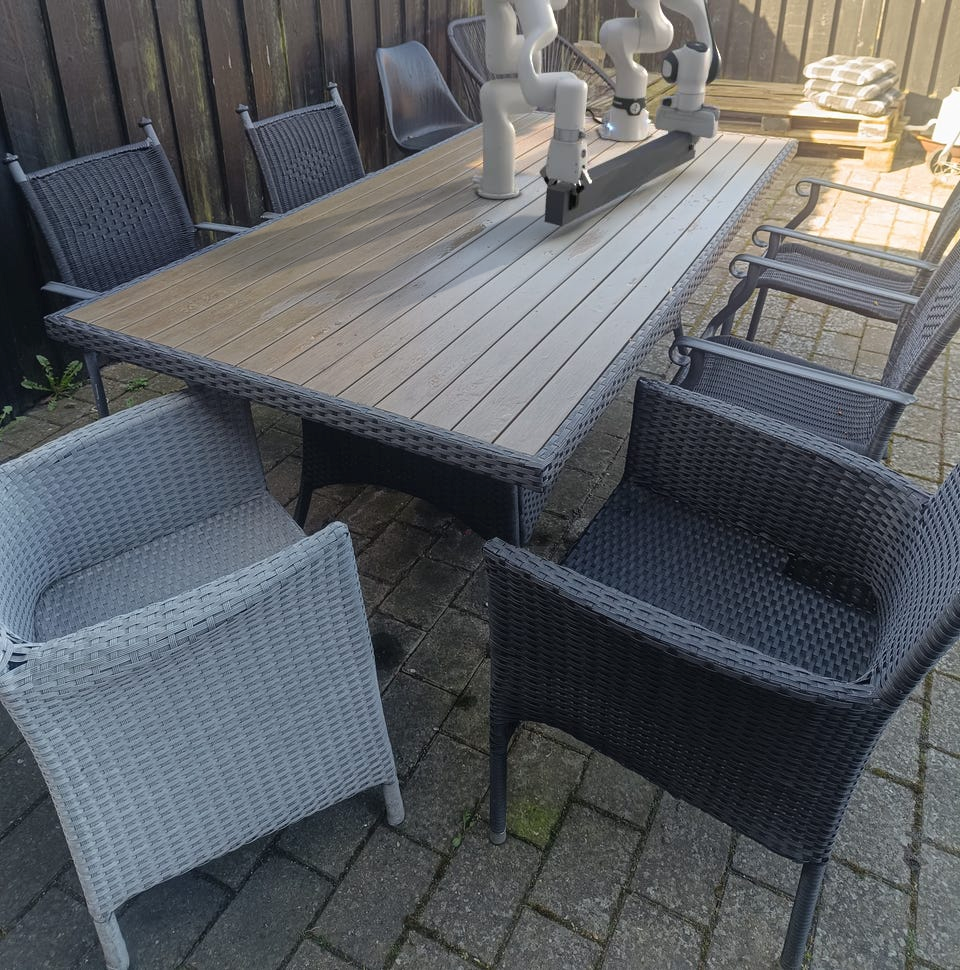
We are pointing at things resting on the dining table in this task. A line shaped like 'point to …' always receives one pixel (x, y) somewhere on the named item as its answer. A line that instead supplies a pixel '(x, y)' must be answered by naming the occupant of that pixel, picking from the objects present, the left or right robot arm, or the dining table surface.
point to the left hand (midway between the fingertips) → (563, 205)
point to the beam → (619, 176)
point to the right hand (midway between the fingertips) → (682, 148)
